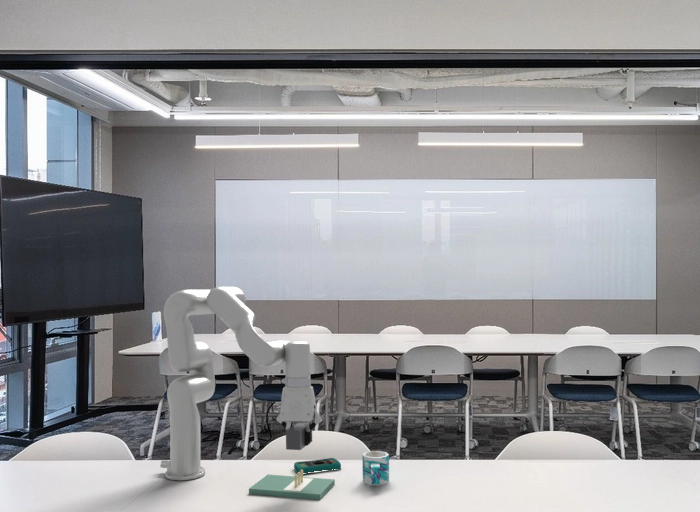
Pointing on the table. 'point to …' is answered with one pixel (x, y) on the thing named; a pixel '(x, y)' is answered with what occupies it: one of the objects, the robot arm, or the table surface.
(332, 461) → the digital multimeter
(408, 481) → the table surface
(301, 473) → the header board
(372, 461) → the mug
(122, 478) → the table surface
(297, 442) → the block
